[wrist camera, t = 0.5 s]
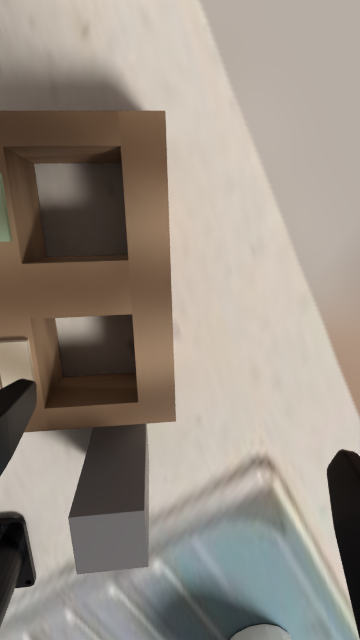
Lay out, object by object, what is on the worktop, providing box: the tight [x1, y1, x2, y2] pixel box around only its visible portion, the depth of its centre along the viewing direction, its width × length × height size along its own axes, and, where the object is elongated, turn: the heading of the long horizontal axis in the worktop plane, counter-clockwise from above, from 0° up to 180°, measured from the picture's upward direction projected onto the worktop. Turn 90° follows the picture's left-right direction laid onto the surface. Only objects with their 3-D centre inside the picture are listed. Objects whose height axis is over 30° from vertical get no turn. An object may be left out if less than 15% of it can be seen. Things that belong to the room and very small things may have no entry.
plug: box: [68, 423, 149, 574], centre depth 20 cm, size 4×4×8 cm
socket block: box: [0, 111, 176, 432], centre depth 18 cm, size 16×9×4 cm, turn 2°
